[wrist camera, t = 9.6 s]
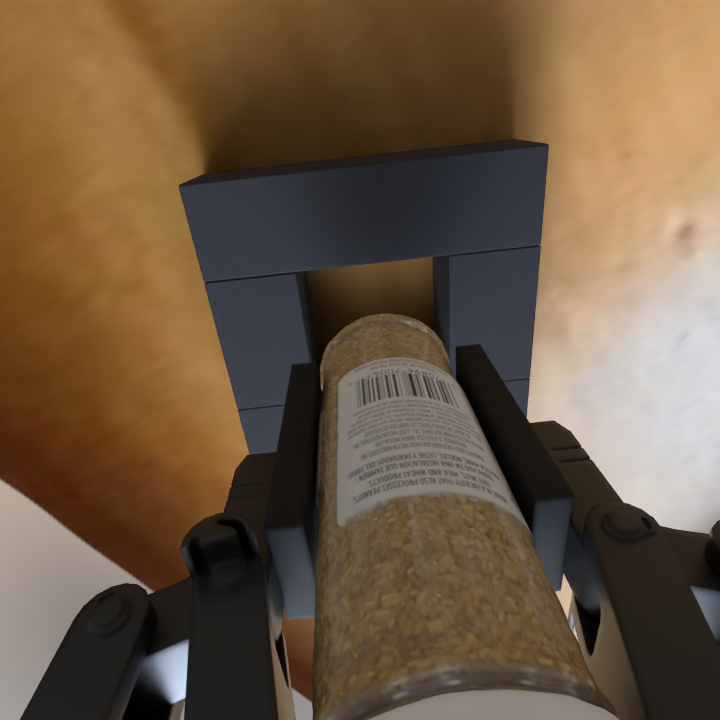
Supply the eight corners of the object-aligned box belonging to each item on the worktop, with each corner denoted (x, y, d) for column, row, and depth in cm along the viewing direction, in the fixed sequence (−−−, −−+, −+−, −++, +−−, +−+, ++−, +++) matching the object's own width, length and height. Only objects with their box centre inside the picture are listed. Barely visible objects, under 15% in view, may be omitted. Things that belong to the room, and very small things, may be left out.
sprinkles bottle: (304, 403, 17) (231, 1075, 5) (344, 290, 15) (376, 943, 3) (420, 434, 18) (587, 1068, 6) (471, 330, 16) (871, 963, 4)
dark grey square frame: (203, 173, 19) (177, 184, 16) (515, 139, 19) (549, 143, 16) (264, 427, 25) (253, 471, 22) (501, 402, 25) (524, 442, 22)
